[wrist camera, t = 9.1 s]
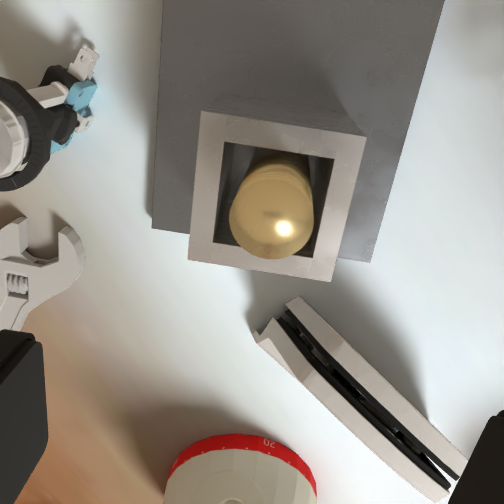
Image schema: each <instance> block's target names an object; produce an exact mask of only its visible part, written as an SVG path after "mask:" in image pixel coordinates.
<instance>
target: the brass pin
mask: <svg viewBox="0 0 504 504" xmlns="http://www.w3.org/2000/svg"><path fill="white" fill-rule="evenodd" d="M229 223H230V228H231V232H232V234H233V236H234V238H235V240H236V241H237V242H238V244H239V245H240V246H241V247H242V248H243V249H244V250H246V251H247V252H249V253H250V254H252V255H254V256H256V257H260V258H264V259H281V258H285V257H288V256H290V255H292V254H294V253H296V252H297V251H299V250H300V249H301V248H302V247H303V246H304V245H305V244H306V242H307V241H308V239H309V238H310V236H311V233H312V230H313V225H314V215H313V202H312V189H311V177H310V164H309V158H308V155H307V154H301V153H294V152H288V151H282V150H275V149H269V148H263V147H258V148H257V150H256V151H255V153H254V156H253V158H252V160H251V162H250V165H249V167H248V169H247V172H246V174H245V176H244V178H243V181H242V183H241V185H240V188H239V190H238V192H237V194H236V197H235V199H234V201H233V204H232V206H231V209H230V215H229Z"/></svg>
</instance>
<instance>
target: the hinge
mask: <svg viewBox="0 0 504 504" xmlns="http://www.w3.org/2000/svg"><path fill="white" fill-rule="evenodd" d="M285 305H286V306H287V307H288V308H289V309H288V310H287V311H286V312H285V313H286V314H287V315H288V316H289V318H290V319H291V320H292V321H293V322H294V323H295V325H296V326H297V327H298V328H299V329H300V331H301V334H300V335H299V334H298V333H297V332H296V331H295V330H294V329H293V328H292V327H291V326H290V325H289V324H288V323H287V322H286V321H285V320H284V319H283V318H282V317H280V318H279V319H278V320H276V319H275V318H272V319H271V320H270V322H269V323H268V325H267V326H266V328H265V329H264V331H263V332H262V333H261V334H259V333H258V332H257V331H256V330H255V331H254V333H253V334H252V336H253V338H254V340H255V342H256V343H257V344H258V345H259V346H260V347H261V348H262V349H263V350H264V351H266V352H267V353H268V354H269V355H270V356H271V357H272V358H273V359H274V360H276V361H277V362H278V363H279V364H280V365H281V366H282V367H283V368H285V369H286V370H287V371H288V372H289V373H290V374H291V375H292V376H294V377H295V378H296V379H297V380H298V381H299V382H300V383H301V384H302V385H304V386H305V387H306V388H307V389H308V390H309V391H310V392H311V393H312V394H313V395H314V396H315V397H316V398H317V399H318V400H319V401H320V402H321V403H322V404H323V405H324V406H325V407H326V408H327V409H328V410H329V411H330V412H331V413H332V414H333V415H334V416H335V417H336V418H337V419H338V420H339V421H340V422H341V423H343V424H344V425H345V426H346V427H347V428H348V429H349V430H350V431H351V432H352V433H353V434H354V435H355V436H356V437H357V438H358V439H360V440H361V441H362V442H363V443H364V444H365V445H366V446H367V447H368V448H369V449H370V450H371V451H372V452H374V453H375V454H376V455H377V456H378V457H379V458H380V459H381V460H382V461H384V462H385V463H386V464H387V465H388V466H389V467H391V468H392V469H393V470H394V471H395V472H396V473H397V474H399V475H400V476H401V477H402V478H403V479H405V480H406V481H407V482H408V483H409V484H411V485H412V486H413V487H414V488H416V489H417V490H418V491H419V492H421V493H422V494H423V495H425V496H426V497H427V498H429V499H430V500H432V501H433V502H435V503H436V502H438V501H440V500H441V499H443V498H444V497H446V496H447V495H449V494H450V492H449V491H448V489H449V488H450V487H451V484H450V483H449V482H448V481H447V479H446V478H445V477H444V476H443V475H442V474H441V472H440V471H439V470H438V469H437V468H436V467H435V465H434V464H433V463H432V462H431V461H430V460H429V458H430V459H431V460H432V461H433V462H434V463H435V464H437V465H438V466H439V467H440V468H441V469H442V470H443V471H445V472H446V473H447V474H448V475H449V476H451V477H452V478H453V479H454V480H455V481H457V480H458V479H459V478H460V477H461V475H462V473H463V471H464V469H465V467H466V465H467V463H468V461H469V460H467V459H466V458H465V457H464V456H463V455H462V454H461V453H460V452H459V451H458V450H457V449H456V448H455V447H454V446H453V445H452V444H451V443H450V442H449V441H448V440H447V439H446V438H445V437H444V436H443V435H442V434H441V433H440V432H439V431H438V430H437V429H436V428H435V427H434V426H433V425H432V424H431V423H430V422H429V421H428V420H427V419H426V418H425V417H424V416H423V415H422V414H421V413H420V412H419V411H418V410H417V409H416V408H415V407H414V406H413V405H412V404H411V403H410V402H409V401H408V400H407V399H405V398H404V397H403V396H402V395H401V394H400V393H399V392H398V391H397V390H396V389H395V388H394V387H393V386H392V385H391V384H390V383H389V382H388V381H387V380H386V379H385V378H384V377H383V376H382V375H381V374H380V373H379V372H378V371H377V370H375V369H374V368H373V367H372V366H371V365H370V364H369V363H368V362H367V361H366V360H365V359H364V358H363V357H362V356H361V355H360V354H359V353H358V352H357V351H356V350H355V349H354V348H353V347H352V346H351V345H350V344H349V343H348V342H347V341H345V340H344V339H343V338H342V337H341V336H340V335H339V334H338V333H337V332H336V331H335V330H334V329H333V328H332V327H331V326H330V325H329V324H328V323H327V322H326V321H325V320H324V319H323V318H322V317H321V316H320V315H319V314H318V313H317V312H315V311H314V310H313V309H312V308H311V307H310V306H309V305H308V304H307V303H306V302H305V301H304V300H303V299H302V298H301V297H300V296H298V297H296V298H294V299H292V300H291V301H289V302H288V303H286V304H285ZM334 369H336V370H337V371H338V372H339V373H340V374H341V375H342V376H343V377H344V378H345V379H346V380H347V381H348V382H349V383H350V384H351V385H352V386H353V387H354V388H355V389H356V390H357V391H359V392H360V393H361V394H362V395H363V397H358V396H355V395H354V394H353V393H352V392H351V391H350V390H349V389H348V388H347V387H346V386H344V385H343V384H342V383H341V382H340V381H339V380H338V379H337V378H336V377H335V376H334ZM394 427H396V428H397V429H398V430H399V431H398V432H396V431H395V430H394V429H393V428H394ZM425 454H426V455H427V456H428V457H429V458H428V457H427V456H426V455H425Z"/></svg>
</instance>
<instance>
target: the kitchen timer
mask: <svg viewBox="0 0 504 504" xmlns="http://www.w3.org/2000/svg"><path fill="white" fill-rule="evenodd" d="M163 504H317V493H316V482H315V480H314V477H313V475H312V472H311V470H310V468H309V467H308V466H307V464H306V463H305V462H304V461H303V460H302V459H301V458H300V457H299V456H298V455H297V454H296V453H294V452H293V451H291V450H290V449H288V448H286V447H285V446H283V445H282V444H280V443H277V442H274V441H271V440H268V439H265V438H262V437H259V436H252V435H243V434H229V435H219V436H213V437H210V438H207V439H204V440H201V441H198V442H196V443H194V444H193V445H191V446H190V447H188V448H187V449H186V450H184V451H183V452H181V453H180V455H179V456H178V457H177V459H176V460H175V462H174V463H173V464H172V466H171V470H170V474H169V477H168V481H167V486H166V490H165V495H164V501H163Z"/></svg>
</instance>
